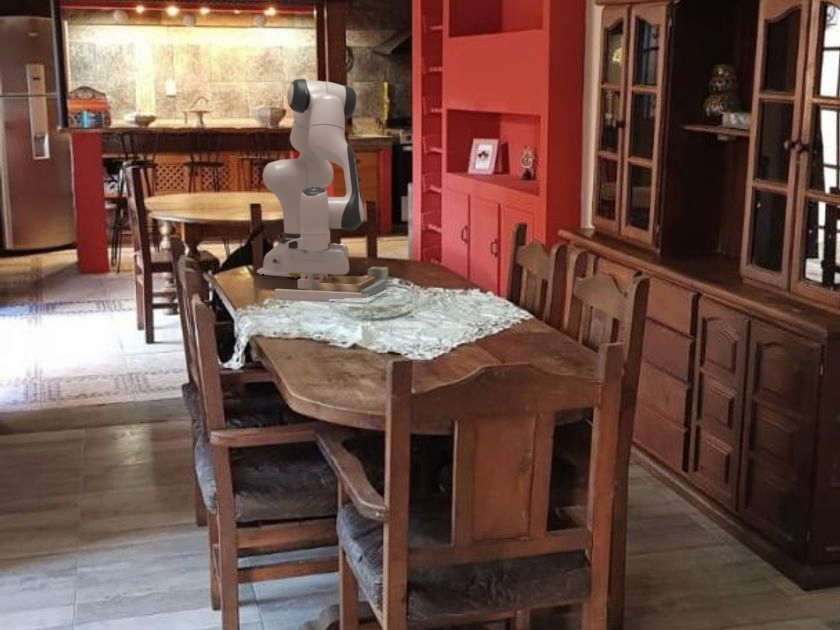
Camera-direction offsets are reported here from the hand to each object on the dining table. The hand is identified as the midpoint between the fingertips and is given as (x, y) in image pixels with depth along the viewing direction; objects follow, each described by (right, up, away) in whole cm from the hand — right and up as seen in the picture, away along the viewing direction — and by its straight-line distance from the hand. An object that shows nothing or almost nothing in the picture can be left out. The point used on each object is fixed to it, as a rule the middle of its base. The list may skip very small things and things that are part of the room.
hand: (316, 288), depth 325 cm
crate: (+9, -2, -2) cm, 9 cm away
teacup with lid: (-1, +1, +20) cm, 20 cm away
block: (+18, 0, +14) cm, 23 cm away
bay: (+5, -3, 0) cm, 6 cm away
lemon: (-10, +4, +36) cm, 37 cm away
